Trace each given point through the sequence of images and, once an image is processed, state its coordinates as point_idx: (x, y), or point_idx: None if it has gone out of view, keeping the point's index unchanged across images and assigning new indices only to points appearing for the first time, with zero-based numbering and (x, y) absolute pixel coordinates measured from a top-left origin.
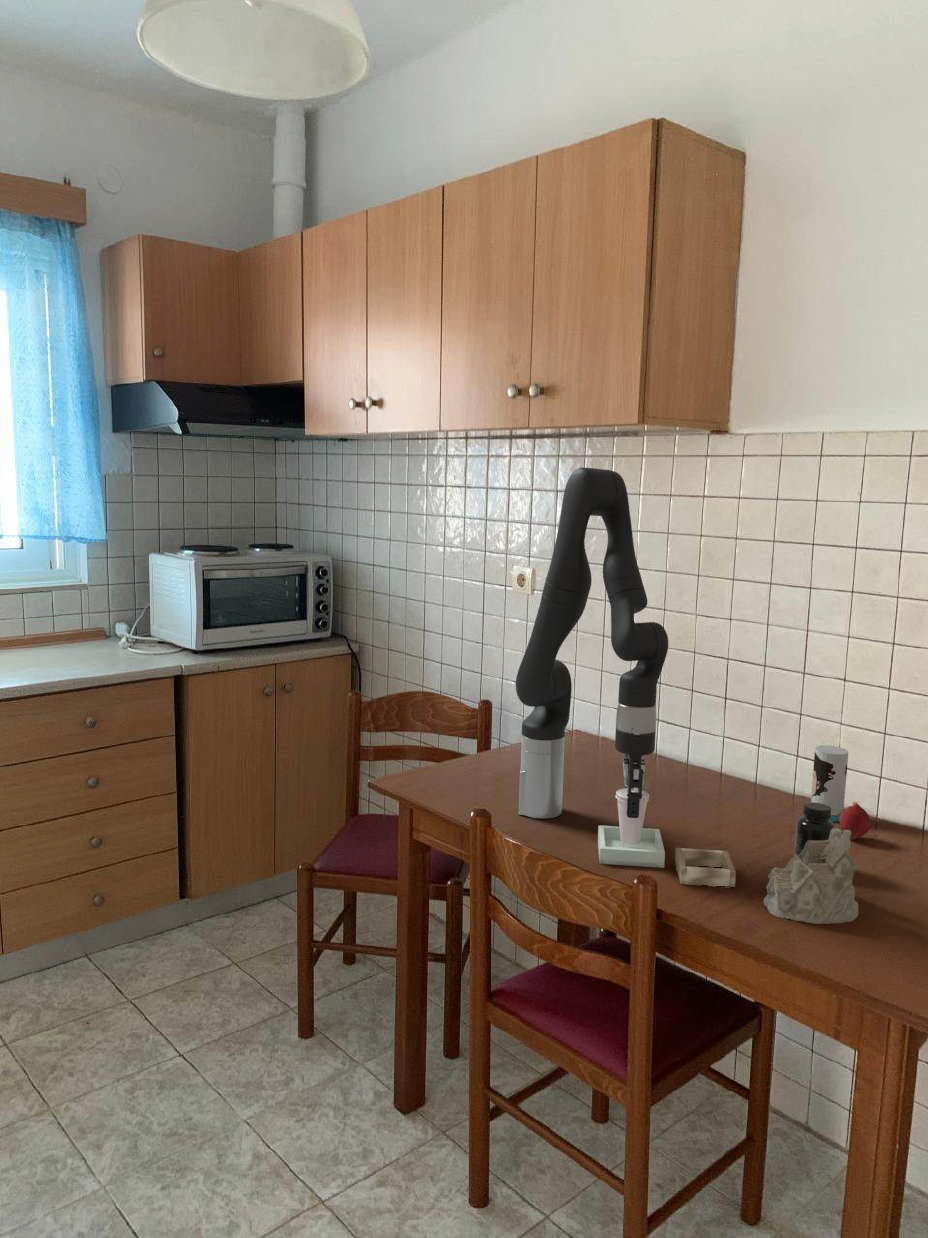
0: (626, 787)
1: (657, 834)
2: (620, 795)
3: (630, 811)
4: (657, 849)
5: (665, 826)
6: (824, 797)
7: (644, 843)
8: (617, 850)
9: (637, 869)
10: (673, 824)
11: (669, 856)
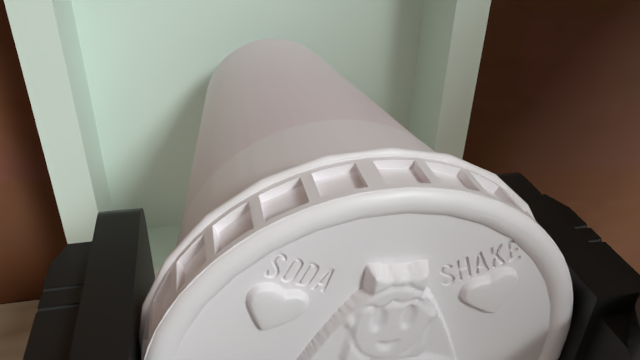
0: (586, 300)
1: None
2: (238, 263)
3: (47, 291)
4: None
5: (614, 229)
6: None
7: None
8: (8, 17)
9: (16, 116)
10: (629, 256)
11: None
